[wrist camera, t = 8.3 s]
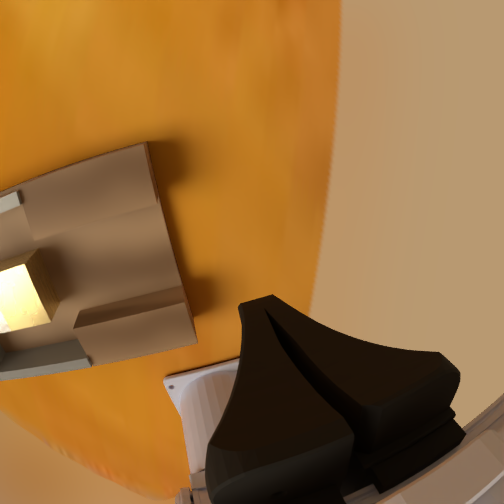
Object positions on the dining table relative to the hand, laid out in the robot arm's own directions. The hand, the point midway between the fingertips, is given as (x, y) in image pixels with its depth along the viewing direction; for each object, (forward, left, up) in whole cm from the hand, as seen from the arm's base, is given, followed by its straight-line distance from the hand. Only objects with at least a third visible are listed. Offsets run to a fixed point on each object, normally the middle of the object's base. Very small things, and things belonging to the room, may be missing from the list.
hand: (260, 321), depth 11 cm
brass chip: (+1, +13, -9) cm, 16 cm away
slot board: (0, +11, -10) cm, 15 cm away
